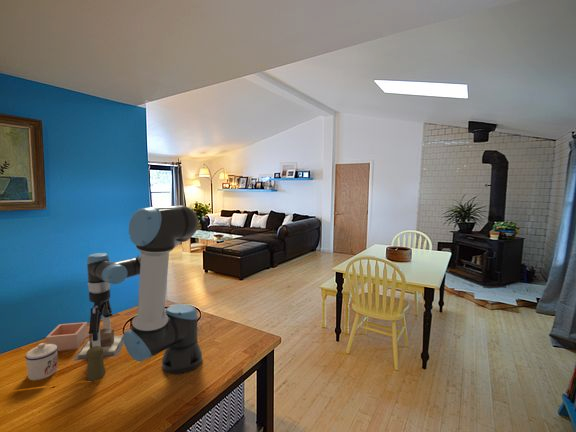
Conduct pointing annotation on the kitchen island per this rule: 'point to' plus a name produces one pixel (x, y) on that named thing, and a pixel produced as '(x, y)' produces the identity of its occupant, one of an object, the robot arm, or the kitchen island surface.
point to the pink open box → (68, 336)
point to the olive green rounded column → (95, 364)
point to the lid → (104, 342)
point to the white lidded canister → (42, 361)
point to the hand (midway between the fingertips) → (102, 338)
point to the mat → (102, 355)
